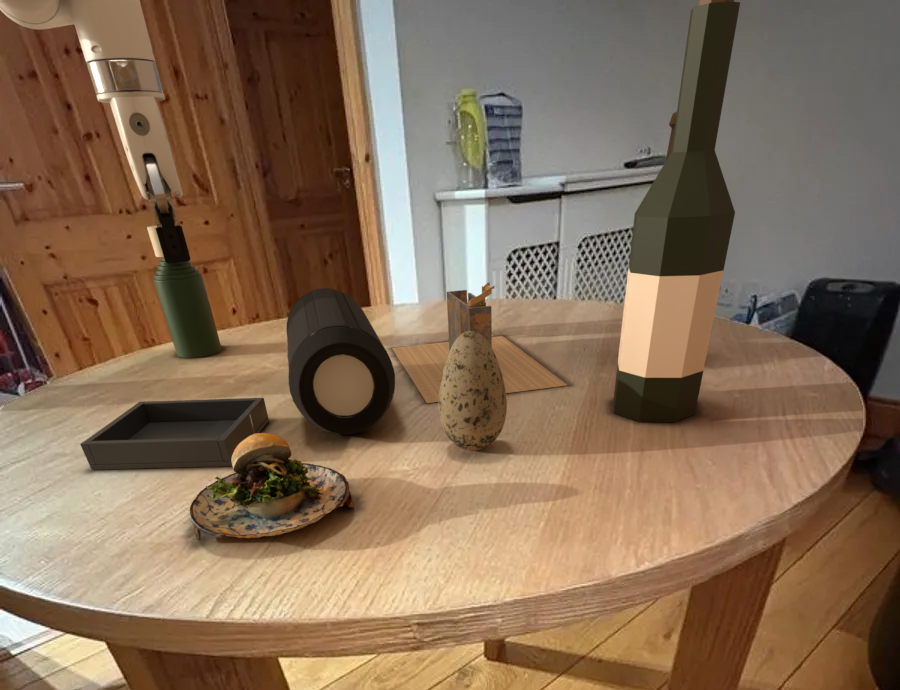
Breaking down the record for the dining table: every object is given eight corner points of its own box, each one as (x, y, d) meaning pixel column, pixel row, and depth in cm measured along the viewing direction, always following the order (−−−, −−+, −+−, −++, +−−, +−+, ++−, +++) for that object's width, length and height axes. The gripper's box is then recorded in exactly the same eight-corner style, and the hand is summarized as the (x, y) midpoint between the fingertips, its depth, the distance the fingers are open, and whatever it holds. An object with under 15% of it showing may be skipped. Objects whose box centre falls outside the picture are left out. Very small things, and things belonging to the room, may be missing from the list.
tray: (91, 469, 55) (79, 444, 53) (147, 424, 64) (139, 401, 62) (232, 466, 54) (224, 439, 52) (269, 421, 63) (263, 397, 61)
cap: (192, 252, 82) (184, 223, 80) (176, 256, 79) (168, 226, 77) (166, 253, 82) (158, 224, 80) (149, 257, 79) (140, 228, 77)
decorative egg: (519, 450, 53) (522, 331, 47) (464, 467, 51) (459, 344, 45) (482, 430, 58) (480, 319, 52) (429, 446, 55) (420, 331, 49)
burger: (171, 560, 41) (131, 458, 37) (222, 484, 51) (195, 396, 46) (342, 552, 41) (323, 449, 36) (362, 477, 50) (348, 388, 46)
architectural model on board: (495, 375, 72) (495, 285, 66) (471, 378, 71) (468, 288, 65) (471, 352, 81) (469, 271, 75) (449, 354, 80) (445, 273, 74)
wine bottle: (682, 428, 56) (770, -32, 38) (597, 415, 59) (640, -8, 41) (705, 401, 61) (792, -12, 43) (626, 390, 65) (675, 7, 47)
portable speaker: (295, 375, 76) (278, 288, 70) (372, 366, 77) (361, 280, 71) (301, 451, 56) (277, 337, 50) (404, 437, 57) (393, 325, 51)
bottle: (169, 359, 86) (129, 234, 77) (187, 347, 91) (152, 229, 82) (212, 357, 85) (177, 232, 76) (228, 345, 90) (196, 227, 81)
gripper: (163, 75, 65) (211, 264, 76) (159, 91, 78) (201, 251, 89) (88, 76, 63) (149, 270, 74) (97, 93, 76) (147, 256, 86)
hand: (177, 258), depth 81 cm, fingers open, 5 cm apart
